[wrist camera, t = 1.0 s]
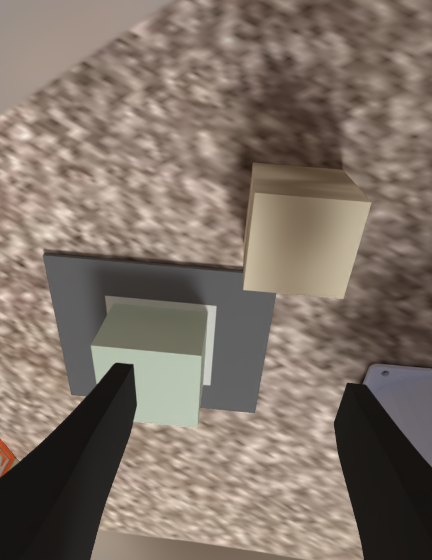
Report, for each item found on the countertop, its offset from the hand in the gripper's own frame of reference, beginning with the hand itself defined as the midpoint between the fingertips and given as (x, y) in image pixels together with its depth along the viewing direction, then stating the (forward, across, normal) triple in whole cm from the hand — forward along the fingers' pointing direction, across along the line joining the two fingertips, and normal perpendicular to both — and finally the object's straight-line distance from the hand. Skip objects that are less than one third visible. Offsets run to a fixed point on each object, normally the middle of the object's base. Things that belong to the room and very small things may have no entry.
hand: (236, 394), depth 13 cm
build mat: (+10, +5, +7) cm, 13 cm away
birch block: (+10, -2, -3) cm, 11 cm away
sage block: (+10, +5, +7) cm, 13 cm away
